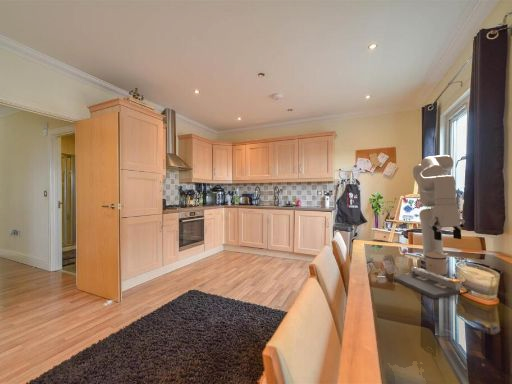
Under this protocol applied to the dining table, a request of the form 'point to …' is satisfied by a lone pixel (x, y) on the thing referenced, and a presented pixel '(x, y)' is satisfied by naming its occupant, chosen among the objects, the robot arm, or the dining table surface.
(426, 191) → the robot arm
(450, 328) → the dining table surface
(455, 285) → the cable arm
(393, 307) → the dining table surface
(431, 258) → the teacup with lid
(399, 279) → the tray
